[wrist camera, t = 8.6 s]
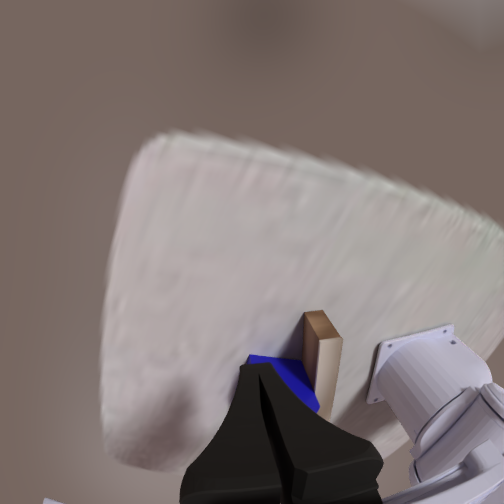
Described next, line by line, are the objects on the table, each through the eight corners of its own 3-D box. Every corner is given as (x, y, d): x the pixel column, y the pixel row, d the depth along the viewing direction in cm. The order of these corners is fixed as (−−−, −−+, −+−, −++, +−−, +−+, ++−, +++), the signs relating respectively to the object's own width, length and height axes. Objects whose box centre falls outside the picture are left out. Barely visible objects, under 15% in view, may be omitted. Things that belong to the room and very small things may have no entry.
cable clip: (249, 352, 23) (258, 403, 18) (300, 358, 24) (320, 406, 18) (222, 439, 26) (224, 485, 21) (263, 442, 27) (272, 486, 21)
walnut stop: (323, 309, 23) (343, 339, 19) (309, 435, 27) (319, 465, 23) (303, 312, 23) (320, 342, 18) (295, 438, 27) (303, 468, 23)
